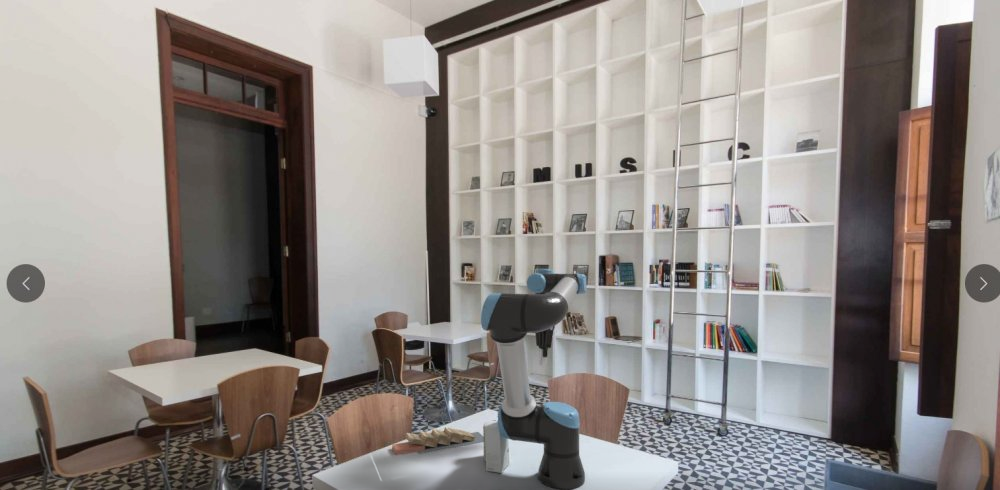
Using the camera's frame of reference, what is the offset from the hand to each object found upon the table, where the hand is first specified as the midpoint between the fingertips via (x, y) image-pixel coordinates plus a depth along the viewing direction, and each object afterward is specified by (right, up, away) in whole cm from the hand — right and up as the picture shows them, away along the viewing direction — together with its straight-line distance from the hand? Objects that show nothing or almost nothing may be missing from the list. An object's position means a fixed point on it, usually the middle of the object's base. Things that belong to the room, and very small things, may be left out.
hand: (543, 364), depth 180 cm
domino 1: (-47, -28, -11) cm, 56 cm away
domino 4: (-34, -28, -5) cm, 44 cm away
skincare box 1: (-20, -29, -21) cm, 41 cm away
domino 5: (-29, -28, -2) cm, 41 cm away
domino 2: (-43, -28, -9) cm, 52 cm away
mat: (-37, -29, -6) cm, 48 cm away
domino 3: (-38, -28, -7) cm, 48 cm away
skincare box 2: (-18, -28, -27) cm, 43 cm away
